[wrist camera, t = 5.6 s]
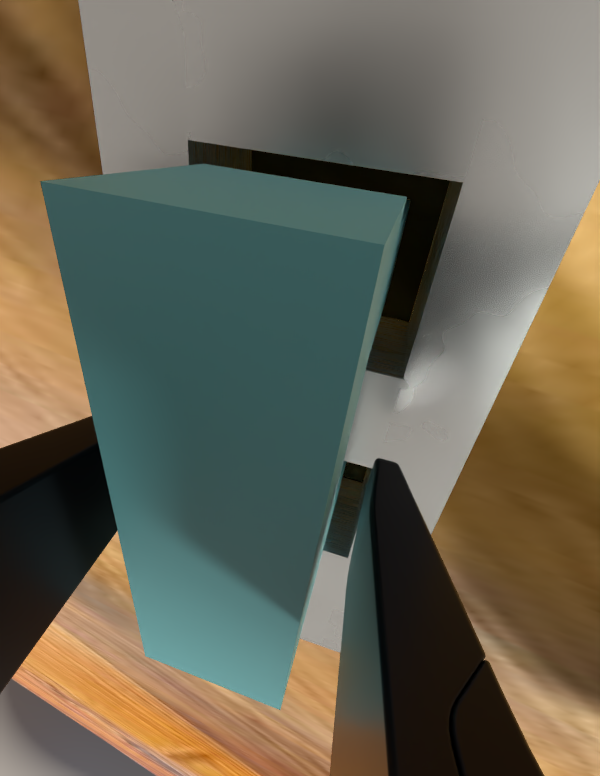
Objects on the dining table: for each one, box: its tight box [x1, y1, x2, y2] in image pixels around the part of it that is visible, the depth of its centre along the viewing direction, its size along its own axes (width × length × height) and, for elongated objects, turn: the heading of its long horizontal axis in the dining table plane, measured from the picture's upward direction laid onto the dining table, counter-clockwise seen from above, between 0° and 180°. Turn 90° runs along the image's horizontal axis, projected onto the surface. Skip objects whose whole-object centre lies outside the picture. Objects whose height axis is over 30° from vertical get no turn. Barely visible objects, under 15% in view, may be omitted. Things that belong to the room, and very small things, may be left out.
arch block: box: [40, 164, 411, 710], centre depth 9 cm, size 9×3×7 cm, turn 173°
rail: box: [78, 0, 600, 652], centre depth 10 cm, size 20×8×3 cm, turn 173°
